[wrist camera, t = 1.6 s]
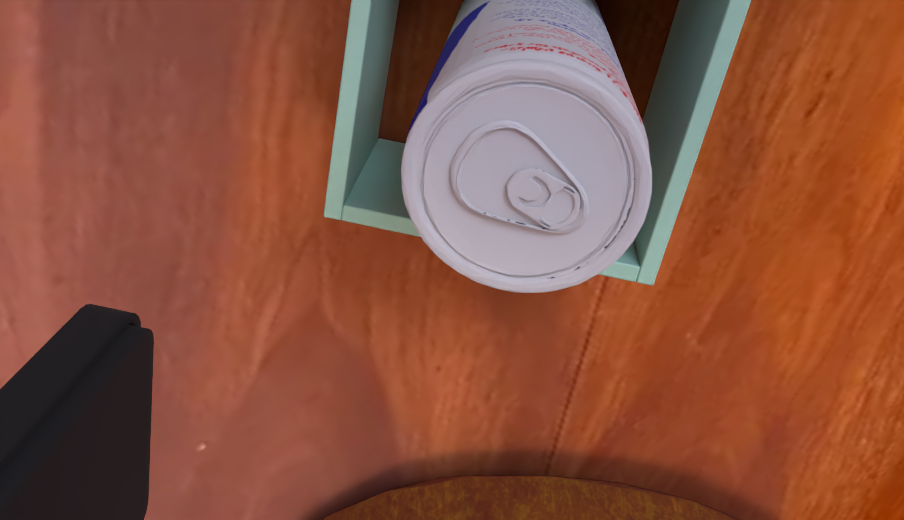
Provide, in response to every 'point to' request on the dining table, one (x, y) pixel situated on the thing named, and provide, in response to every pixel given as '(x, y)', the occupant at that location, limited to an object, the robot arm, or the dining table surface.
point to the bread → (525, 501)
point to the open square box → (665, 121)
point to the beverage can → (527, 148)
